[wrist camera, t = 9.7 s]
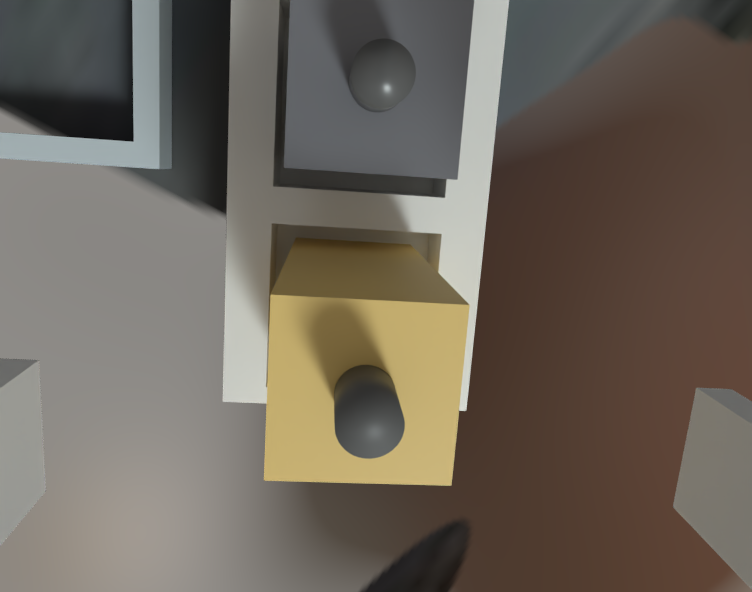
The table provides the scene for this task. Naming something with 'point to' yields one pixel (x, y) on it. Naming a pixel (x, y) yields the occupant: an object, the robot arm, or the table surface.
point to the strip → (339, 193)
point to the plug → (363, 366)
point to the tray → (147, 106)
